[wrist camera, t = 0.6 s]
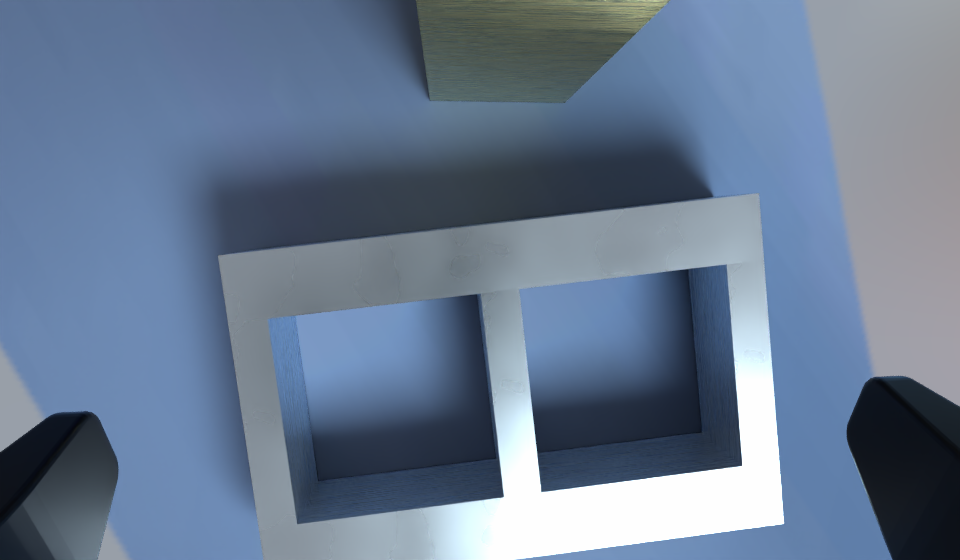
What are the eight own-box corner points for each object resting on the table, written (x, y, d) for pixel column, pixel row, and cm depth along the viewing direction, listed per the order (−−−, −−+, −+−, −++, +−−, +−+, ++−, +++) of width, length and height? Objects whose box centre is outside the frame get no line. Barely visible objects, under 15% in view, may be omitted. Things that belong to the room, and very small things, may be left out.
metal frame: (737, 482, 22) (783, 523, 19) (293, 539, 21) (268, 592, 18) (714, 196, 21) (758, 193, 18) (251, 250, 21) (217, 255, 18)
